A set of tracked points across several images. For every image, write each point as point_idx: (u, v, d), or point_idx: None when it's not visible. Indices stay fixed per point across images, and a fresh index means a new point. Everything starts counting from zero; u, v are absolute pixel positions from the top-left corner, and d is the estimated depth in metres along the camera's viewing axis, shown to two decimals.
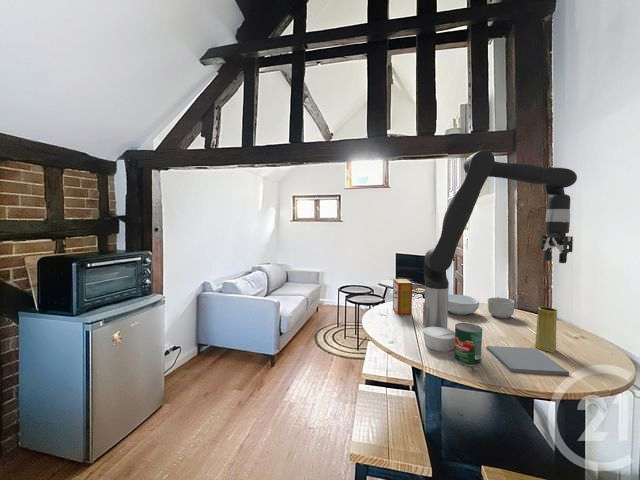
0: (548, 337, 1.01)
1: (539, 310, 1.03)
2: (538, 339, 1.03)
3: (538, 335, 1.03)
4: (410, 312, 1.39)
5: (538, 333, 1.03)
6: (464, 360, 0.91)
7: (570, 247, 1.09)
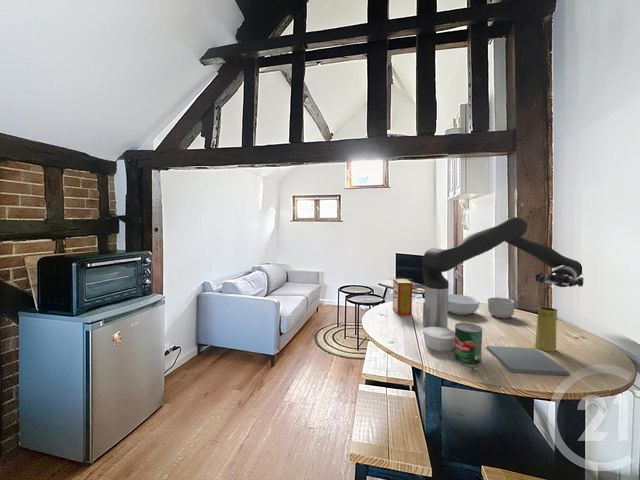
0: (548, 337, 1.01)
1: (539, 310, 1.03)
2: (538, 339, 1.03)
3: (538, 335, 1.03)
4: (410, 312, 1.39)
5: (538, 333, 1.03)
6: (464, 360, 0.91)
7: None
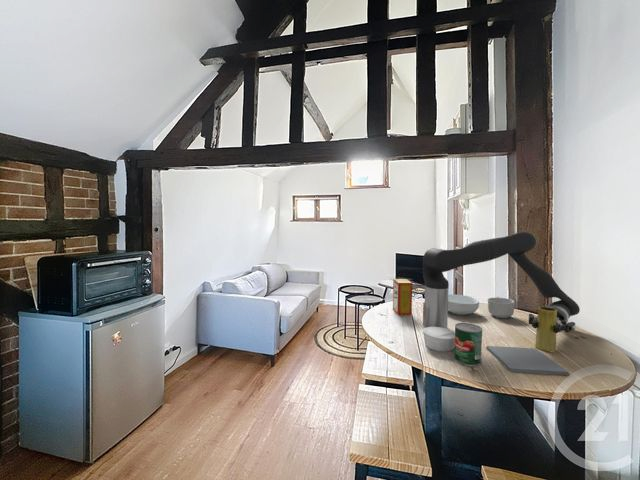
0: (548, 337, 1.01)
1: (539, 310, 1.03)
2: (538, 339, 1.03)
3: (538, 335, 1.03)
4: (410, 312, 1.39)
5: (538, 333, 1.03)
6: (464, 360, 0.91)
7: (569, 330, 1.01)
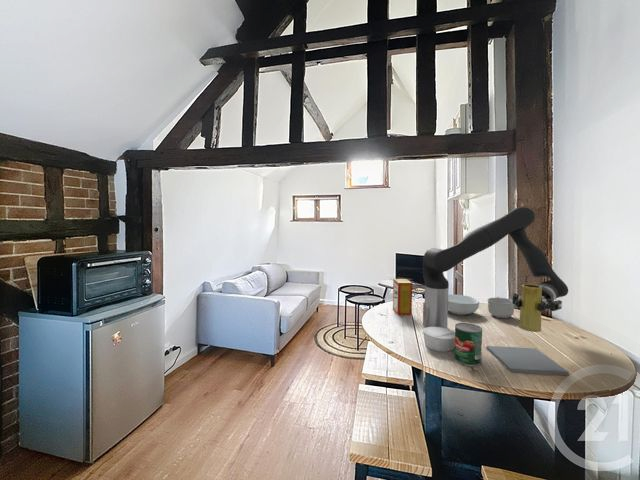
0: (532, 316, 0.93)
1: (523, 287, 0.95)
2: (522, 319, 0.95)
3: (522, 315, 0.95)
4: (410, 312, 1.39)
5: (522, 312, 0.95)
6: (464, 360, 0.91)
7: (555, 308, 0.93)
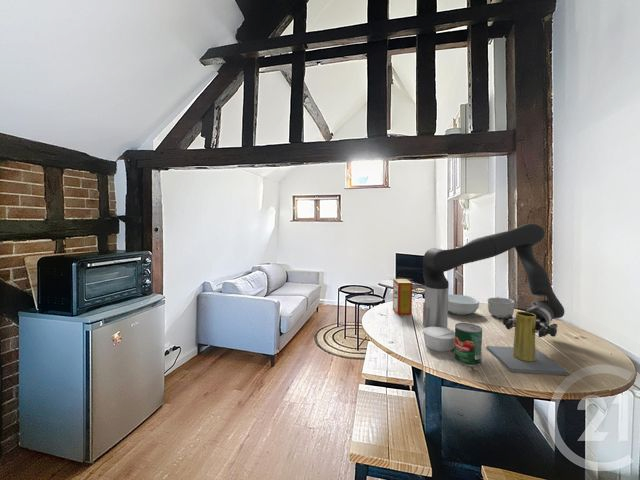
0: (526, 345, 0.91)
1: (517, 315, 0.94)
2: (516, 347, 0.94)
3: (515, 343, 0.94)
4: (410, 312, 1.39)
5: (516, 341, 0.94)
6: (464, 360, 0.91)
7: None
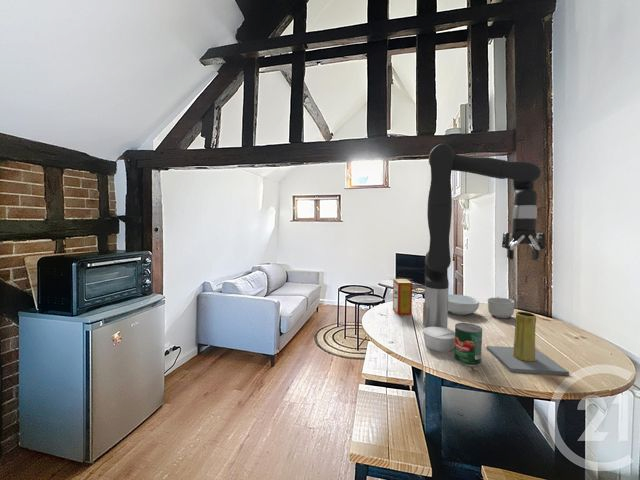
0: (526, 345, 0.91)
1: (517, 315, 0.94)
2: (516, 347, 0.94)
3: (515, 343, 0.94)
4: (410, 312, 1.39)
5: (516, 341, 0.94)
6: (464, 360, 0.91)
7: (540, 243, 1.12)
